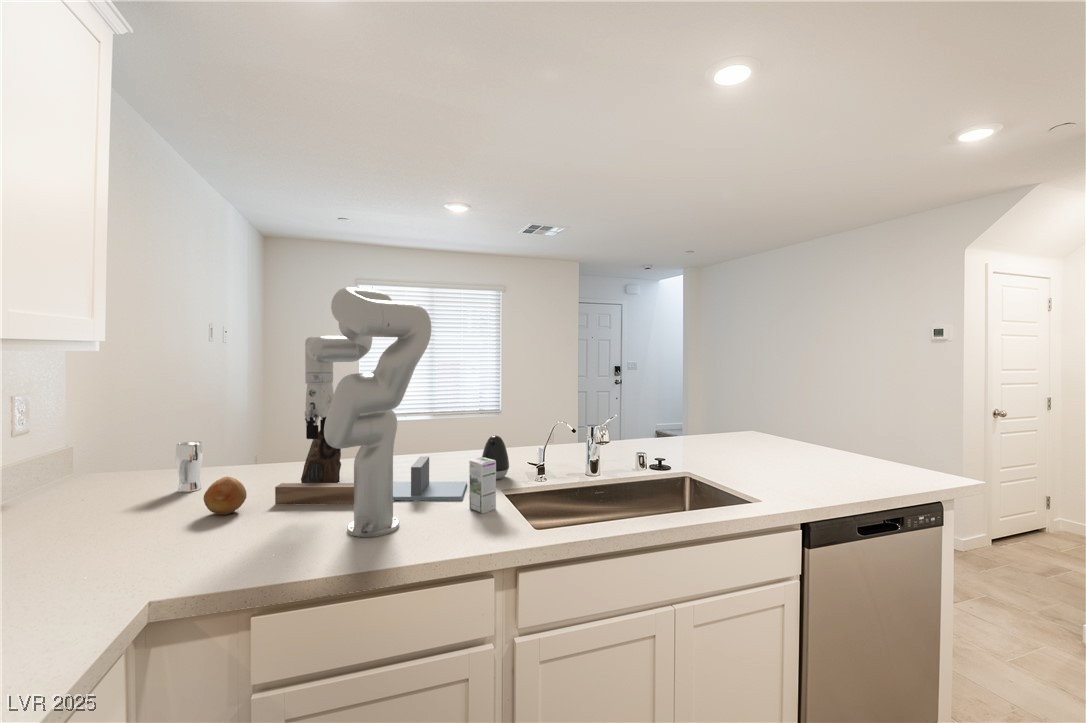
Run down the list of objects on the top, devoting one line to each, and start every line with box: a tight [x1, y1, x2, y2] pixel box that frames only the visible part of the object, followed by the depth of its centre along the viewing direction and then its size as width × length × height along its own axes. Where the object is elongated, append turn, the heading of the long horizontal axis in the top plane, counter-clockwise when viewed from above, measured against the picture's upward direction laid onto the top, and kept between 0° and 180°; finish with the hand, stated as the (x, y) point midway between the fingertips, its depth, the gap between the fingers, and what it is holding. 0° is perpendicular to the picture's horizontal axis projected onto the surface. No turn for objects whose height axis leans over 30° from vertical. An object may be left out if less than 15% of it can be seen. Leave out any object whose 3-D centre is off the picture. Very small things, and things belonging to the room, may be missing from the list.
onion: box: [203, 476, 247, 516], centre depth 134 cm, size 10×10×10 cm
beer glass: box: [175, 440, 204, 493], centre depth 154 cm, size 7×7×15 cm
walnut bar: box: [274, 482, 354, 505], centre depth 144 cm, size 4×24×6 cm, turn 93°
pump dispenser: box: [481, 435, 510, 480], centre depth 172 cm, size 10×10×15 cm
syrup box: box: [468, 456, 497, 514], centre depth 139 cm, size 6×6×14 cm
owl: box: [300, 430, 342, 483], centre depth 161 cm, size 13×13×20 cm
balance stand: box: [393, 456, 468, 501], centre depth 154 cm, size 16×28×10 cm, turn 93°
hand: (319, 435), depth 143 cm, fingers open, 9 cm apart
